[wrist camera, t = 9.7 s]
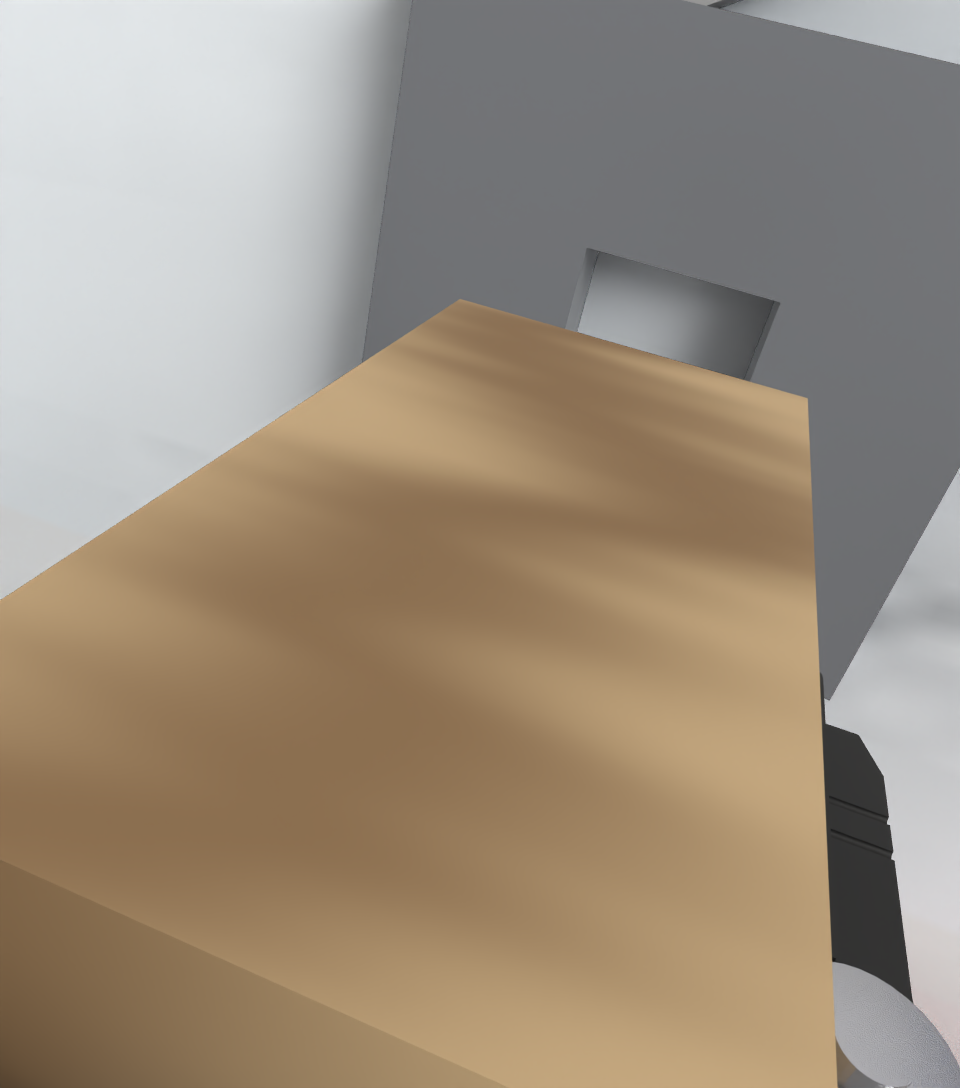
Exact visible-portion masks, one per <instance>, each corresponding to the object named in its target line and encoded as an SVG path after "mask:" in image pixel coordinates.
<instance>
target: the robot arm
mask: <svg viewBox="0 0 960 1088" xmlns="http://www.w3.org/2000/svg"><path fill="white" fill-rule="evenodd" d="M820 695H821V718H822V741H823V764H824V787H825V810H826V834H827V857H828V880H829V903H830V926H831V949H832V972H833V995H834V1018H835V1041H836V1064H837V1088H960V1068H959V1065H958V1063H957V1061H956V1059H955V1057H954V1055H953V1054H952V1052H951V1050H950V1048H949V1046H948V1045H947V1043H946V1042H945V1040H944V1039H943V1038H942V1036H941V1035H940V1033H939V1032H938V1030H937V1029H936V1028H935V1026H934V1025H933V1024H932V1023H931V1022H930V1021H929V1020H928V1018H927V1017H926V1016H925V1015H924V1014H923V1013H922V1012H921V1011H920V1010H919V1009H918V1008H917V1007H916V1006H915V1005H914V1004H913V1000H912V993H911V986H910V978H909V970H908V962H907V955H906V947H905V939H904V931H903V923H902V916H901V908H900V900H899V892H898V885H897V877H896V869H895V861H894V860H891V856H892V853H893V846H892V838H891V830H890V825H887V820H888V818H889V815H888V807H887V799H886V792H885V784H884V776H883V775H882V773H881V771H880V770H879V768H878V766H877V765H876V763H875V761H874V760H873V758H872V756H871V755H870V753H869V752H868V750H867V748H866V747H865V745H864V743H863V742H862V740H861V738H860V737H859V735H857V734H854V733H851V732H848V731H845V730H843V729H840V728H837V727H834V726H831V725H828V724H825V705H824V685H823V676H822V674H821V672H820Z"/></svg>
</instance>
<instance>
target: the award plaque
mask: <svg viewBox="0 0 960 1088" xmlns="http://www.w3.org/2000/svg"><path fill="white" fill-rule="evenodd" d="M684 1H688V2H692V3H697V4H701V5H705V6H709V7H714V8H721V7H724V6H727V5H730V4H733V3H736V2H739V1H742V0H684Z"/></svg>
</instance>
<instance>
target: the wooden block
mask: <svg viewBox="0 0 960 1088" xmlns="http://www.w3.org/2000/svg"><path fill="white" fill-rule="evenodd" d="M0 1088H837V1064H836V1041H835V1018H834V995H833V972H832V949H831V926H830V903H829V880H828V857H827V834H826V810H825V787H824V764H823V741H822V718H821V695H820V672H819V649H818V626H817V603H816V580H815V556H814V533H813V510H812V487H811V464H810V441H809V418H808V398H805V397H801V396H798V395H794V394H791V393H787V392H784V391H780V390H777V389H773V388H770V387H766V386H763V385H759V384H756V383H752V382H749V381H745V380H742V379H738V378H735V377H731V376H728V375H724V374H721V373H717V372H714V371H710V370H707V369H703V368H700V367H697V366H693V365H690V364H686V363H683V362H679V361H676V360H672V359H669V358H665V357H662V356H658V355H655V354H651V353H648V352H644V351H641V350H637V349H634V348H630V347H627V346H623V345H620V344H616V343H613V342H609V341H606V340H602V339H599V338H595V337H592V336H588V335H585V334H581V333H578V332H574V331H571V330H567V329H564V328H560V327H557V326H553V325H550V324H546V323H543V322H539V321H536V320H532V319H529V318H525V317H522V316H518V315H515V314H511V313H508V312H504V311H501V310H497V309H494V308H490V307H487V306H483V305H480V304H476V303H473V302H469V301H466V300H462V299H459V300H458V301H456V302H455V303H453V304H452V305H450V306H448V307H447V308H445V309H444V310H442V311H441V312H439V313H438V314H436V315H435V316H433V317H432V318H430V319H429V320H427V321H426V322H424V323H423V324H421V325H419V326H418V327H416V328H415V329H413V330H412V331H410V332H409V333H407V334H406V335H404V336H403V337H401V338H400V339H398V340H397V341H395V342H394V343H392V344H391V345H389V346H387V347H386V348H384V349H383V350H381V351H380V352H378V353H377V354H375V355H374V356H372V357H371V358H369V359H368V360H366V361H365V362H363V363H362V364H360V365H358V366H357V367H355V368H354V369H352V370H351V371H349V372H348V373H346V374H345V375H343V376H342V377H340V378H339V379H337V380H336V381H334V382H333V383H331V384H329V385H328V386H326V387H325V388H323V389H322V390H320V391H319V392H317V393H316V394H314V395H313V396H311V397H310V398H308V399H307V400H305V401H304V402H302V403H300V404H299V405H297V406H296V407H294V408H293V409H291V410H290V411H288V412H287V413H285V414H284V415H282V416H281V417H279V418H278V419H276V420H275V421H273V422H271V423H270V424H268V425H267V426H265V427H264V428H262V429H261V430H259V431H258V432H256V433H255V434H253V435H252V436H250V437H249V438H247V439H246V440H244V441H242V442H241V443H239V444H238V445H236V446H235V447H233V448H232V449H230V450H229V451H227V452H226V453H224V454H223V455H221V456H220V457H218V458H217V459H215V460H214V461H212V462H210V463H209V464H207V465H206V466H204V467H203V468H201V469H200V470H198V471H197V472H195V473H194V474H192V475H191V476H189V477H188V478H186V479H185V480H183V481H181V482H180V483H178V484H177V485H175V486H174V487H172V488H171V489H169V490H168V491H166V492H165V493H163V494H162V495H160V496H159V497H157V498H156V499H154V500H152V501H151V502H149V503H148V504H146V505H145V506H143V507H142V508H140V509H139V510H137V511H136V512H134V513H133V514H131V515H130V516H128V517H127V518H125V519H123V520H122V521H120V522H119V523H117V524H116V525H114V526H113V527H111V528H110V529H108V530H107V531H105V532H104V533H102V534H101V535H99V536H98V537H96V538H94V539H93V540H91V541H90V542H88V543H87V544H85V545H84V546H82V547H81V548H79V549H78V550H76V551H75V552H73V553H72V554H70V555H69V556H67V557H66V558H64V559H62V560H61V561H59V562H58V563H56V564H55V565H53V566H52V567H50V568H49V569H47V570H46V571H44V572H43V573H41V574H40V575H38V576H37V577H35V578H33V579H32V580H30V581H29V582H27V583H26V584H24V585H23V586H21V587H20V588H18V589H17V590H15V591H14V592H12V593H11V594H9V595H8V596H6V597H4V598H3V599H1V600H0Z"/></svg>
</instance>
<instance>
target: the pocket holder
mask: <svg viewBox="0 0 960 1088" xmlns="http://www.w3.org/2000/svg"><path fill="white" fill-rule="evenodd" d="M599 251H601V252H604V253H608V254H611V255H615V256H618V257H622V258H625V259H629V260H632V261H636V262H639V263H643V264H646V265H650V266H653V267H657V268H660V269H664V270H667V271H671V272H674V273H678V274H681V275H685V276H689V277H692V278H696V279H699V280H703V281H706V282H710V283H713V284H717V285H720V286H724V287H727V288H731V289H734V290H738V291H741V292H745V293H748V294H752V295H755V296H759V297H762V298H766V299H770V300H773V301H774V303H773V306H772V308H771V311H770V314H769V316H768V319H767V321H766V324H765V326H764V329H763V332H762V334H761V337H760V339H759V342H758V345H757V347H756V350H755V352H754V355H753V357H752V360H751V363H750V365H749V368H748V370H747V373H746V376H745V378H744V380H745V381H749V382H752V383H756V384H759V385H763V386H766V387H770V388H773V389H777V390H780V391H784V392H787V393H791V394H794V395H798V396H801V397H805V398H808V418H809V441H810V464H811V487H812V510H813V533H814V556H815V580H816V603H817V626H818V649H819V672H821V674H822V676H823V685H824V698H825V699H827V700H830V699H831V697H832V695H833V693H834V692H835V690H836V688H837V686H838V684H839V683H840V681H841V679H842V677H843V675H844V674H845V672H846V670H847V668H848V667H849V665H850V663H851V661H852V659H853V658H854V656H855V654H856V652H857V650H858V649H859V647H860V645H861V643H862V641H863V640H864V638H865V636H866V634H867V632H868V631H869V629H870V627H871V625H872V624H873V622H874V620H875V618H876V616H877V615H878V613H879V611H880V609H881V607H882V606H883V604H884V602H885V600H886V598H887V597H888V595H889V593H890V591H891V589H892V588H893V586H894V584H895V582H896V580H897V579H898V577H899V575H900V573H901V572H902V570H903V568H904V566H905V564H906V563H907V561H908V559H909V557H910V555H911V554H912V552H913V550H914V548H915V546H916V545H917V543H918V541H919V539H920V537H921V536H922V534H923V532H924V530H925V528H926V527H927V525H928V523H929V521H930V520H931V518H932V516H933V514H934V512H935V511H936V509H937V507H938V505H939V503H940V502H941V500H942V498H943V496H944V494H945V493H946V491H947V489H948V487H949V485H950V484H951V482H952V480H953V478H954V476H955V475H956V473H957V471H958V469H959V468H960V65H959V64H955V63H950V62H946V61H942V60H937V59H933V58H929V57H925V56H920V55H916V54H912V53H907V52H903V51H899V50H894V49H890V48H886V47H882V46H877V45H873V44H869V43H864V42H860V41H856V40H851V39H847V38H843V37H839V36H834V35H830V34H826V33H821V32H817V31H813V30H808V29H804V28H800V27H795V26H791V25H787V24H783V23H778V22H774V21H770V20H765V19H761V18H757V17H752V16H748V15H744V14H740V13H735V12H731V11H727V10H722V9H718V8H714V7H709V6H705V5H701V4H697V3H692V2H688V1H684V0H413V1H412V8H411V15H410V22H409V29H408V37H407V44H406V51H405V58H404V65H403V73H402V80H401V87H400V94H399V101H398V108H397V116H396V123H395V130H394V137H393V144H392V152H391V159H390V166H389V173H388V180H387V188H386V195H385V202H384V209H383V216H382V224H381V231H380V238H379V245H378V252H377V260H376V267H375V274H374V281H373V288H372V295H371V303H370V310H369V317H368V324H367V331H366V339H365V346H364V353H363V360H362V363H363V362H365V361H366V360H368V359H369V358H371V357H372V356H374V355H375V354H377V353H378V352H380V351H381V350H383V349H384V348H386V347H387V346H389V345H391V344H392V343H394V342H395V341H397V340H398V339H400V338H401V337H403V336H404V335H406V334H407V333H409V332H410V331H412V330H413V329H415V328H416V327H418V326H419V325H421V324H423V323H424V322H426V321H427V320H429V319H430V318H432V317H433V316H435V315H436V314H438V313H439V312H441V311H442V310H444V309H445V308H447V307H448V306H450V305H452V304H453V303H455V302H456V301H458V300H459V299H462V300H466V301H469V302H473V303H476V304H480V305H483V306H487V307H490V308H494V309H497V310H501V311H504V312H508V313H511V314H515V315H518V316H522V317H525V318H529V319H532V320H536V321H539V322H543V323H546V324H550V325H553V326H557V327H560V328H564V329H567V330H571V331H574V332H577V329H578V326H579V322H580V318H581V315H582V311H583V307H584V303H585V300H586V296H587V292H588V289H589V285H590V281H591V278H592V274H593V270H594V267H595V263H596V259H597V255H598V252H599Z"/></svg>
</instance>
